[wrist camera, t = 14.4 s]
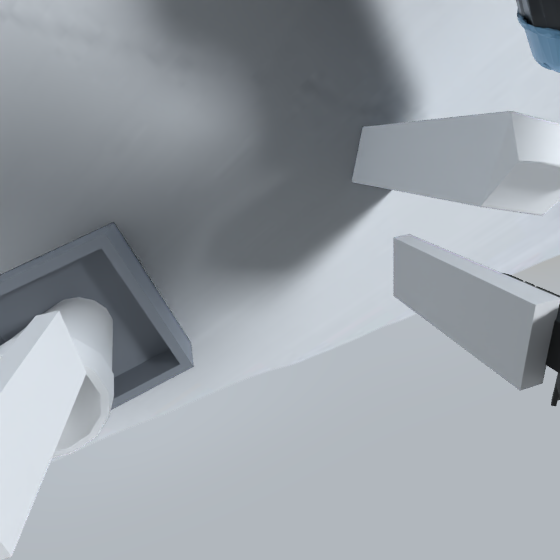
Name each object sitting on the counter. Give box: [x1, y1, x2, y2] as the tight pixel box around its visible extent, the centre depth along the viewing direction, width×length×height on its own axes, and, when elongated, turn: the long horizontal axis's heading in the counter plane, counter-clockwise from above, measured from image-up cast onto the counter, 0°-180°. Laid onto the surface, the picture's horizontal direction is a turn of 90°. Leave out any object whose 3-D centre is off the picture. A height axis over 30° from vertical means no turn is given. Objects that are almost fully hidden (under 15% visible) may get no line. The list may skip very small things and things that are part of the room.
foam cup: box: [0, 297, 114, 458], centre depth 31 cm, size 10×9×13 cm
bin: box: [0, 222, 194, 410], centre depth 35 cm, size 16×16×5 cm
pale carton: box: [352, 111, 560, 215], centre depth 31 cm, size 6×6×22 cm
